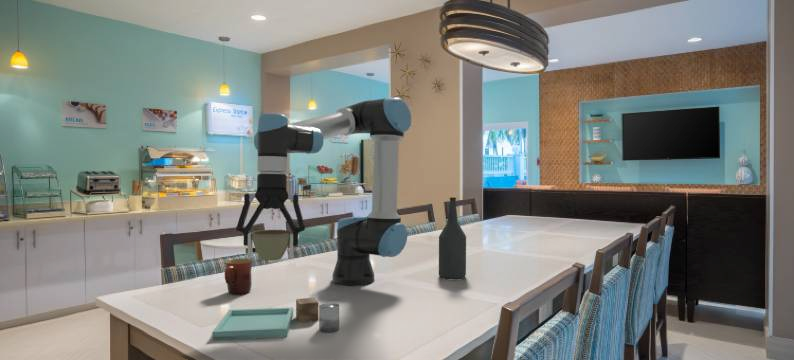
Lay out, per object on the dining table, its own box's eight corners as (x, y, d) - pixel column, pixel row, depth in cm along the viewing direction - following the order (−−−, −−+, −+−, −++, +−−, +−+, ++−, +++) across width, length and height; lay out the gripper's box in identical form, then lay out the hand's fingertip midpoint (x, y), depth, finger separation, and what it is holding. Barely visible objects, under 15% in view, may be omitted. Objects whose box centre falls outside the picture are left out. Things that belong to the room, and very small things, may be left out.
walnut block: (314, 315, 125) (314, 297, 125) (318, 320, 120) (318, 302, 120) (296, 317, 123) (296, 299, 123) (299, 323, 118) (299, 304, 118)
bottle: (470, 276, 172) (470, 197, 171) (459, 281, 163) (460, 198, 163) (445, 272, 177) (446, 196, 176) (433, 277, 169) (434, 197, 168)
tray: (293, 314, 125) (293, 307, 125) (286, 337, 108) (286, 328, 108) (229, 317, 123) (229, 309, 123) (212, 340, 106) (212, 331, 106)
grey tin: (339, 325, 116) (339, 302, 116) (339, 332, 111) (339, 308, 111) (319, 326, 116) (319, 303, 116) (318, 333, 111) (318, 309, 111)
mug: (234, 288, 153) (234, 257, 153) (258, 289, 151) (258, 259, 151) (213, 297, 141) (213, 265, 141) (239, 299, 139) (239, 266, 139)
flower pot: (255, 255, 123) (256, 229, 123) (293, 255, 124) (293, 229, 124) (246, 262, 114) (247, 234, 113) (287, 262, 114) (287, 234, 114)
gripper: (316, 174, 124) (315, 255, 124) (230, 172, 121) (229, 255, 121) (315, 173, 117) (313, 260, 117) (224, 172, 114) (222, 261, 114)
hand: (270, 258), depth 119 cm, fingers closed on flower pot, 10 cm apart
